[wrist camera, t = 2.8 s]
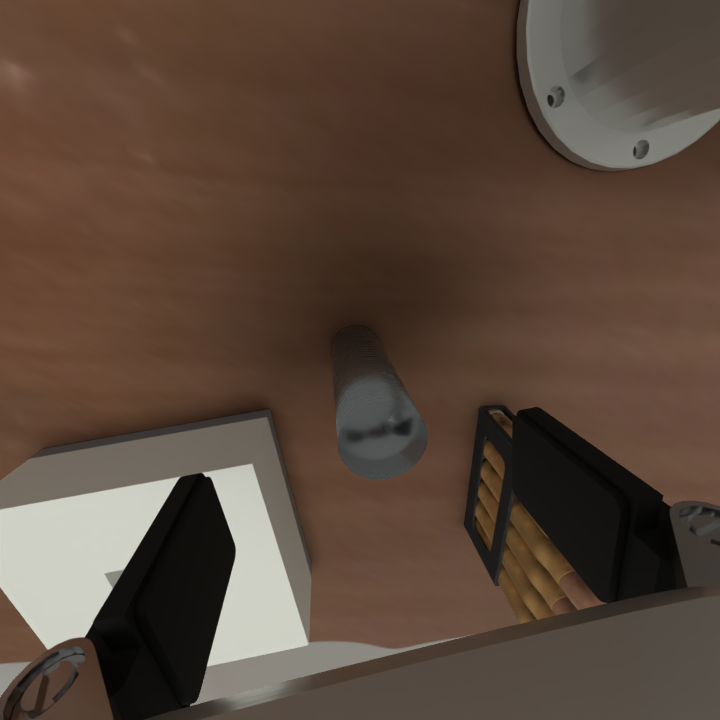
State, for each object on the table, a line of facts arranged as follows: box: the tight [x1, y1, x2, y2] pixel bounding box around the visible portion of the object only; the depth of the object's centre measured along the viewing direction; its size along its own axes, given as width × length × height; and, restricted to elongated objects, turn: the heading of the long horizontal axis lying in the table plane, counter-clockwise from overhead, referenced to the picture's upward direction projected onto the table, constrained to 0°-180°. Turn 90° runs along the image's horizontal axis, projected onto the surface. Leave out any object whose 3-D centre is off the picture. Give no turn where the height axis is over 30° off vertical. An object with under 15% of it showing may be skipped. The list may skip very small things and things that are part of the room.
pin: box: [331, 325, 427, 479], centre depth 16 cm, size 3×3×10 cm
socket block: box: [0, 409, 312, 666], centre depth 21 cm, size 14×14×6 cm
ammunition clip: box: [464, 406, 603, 624], centre depth 19 cm, size 11×2×12 cm, turn 0°
